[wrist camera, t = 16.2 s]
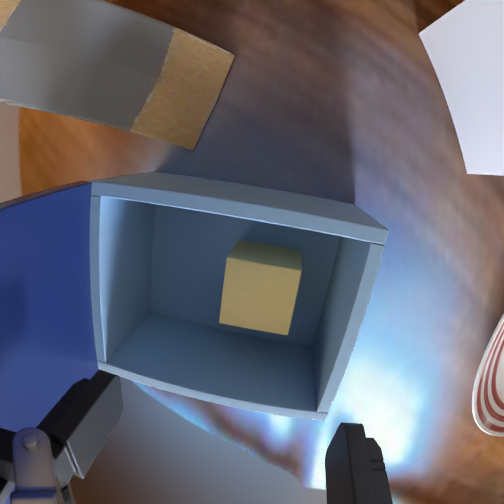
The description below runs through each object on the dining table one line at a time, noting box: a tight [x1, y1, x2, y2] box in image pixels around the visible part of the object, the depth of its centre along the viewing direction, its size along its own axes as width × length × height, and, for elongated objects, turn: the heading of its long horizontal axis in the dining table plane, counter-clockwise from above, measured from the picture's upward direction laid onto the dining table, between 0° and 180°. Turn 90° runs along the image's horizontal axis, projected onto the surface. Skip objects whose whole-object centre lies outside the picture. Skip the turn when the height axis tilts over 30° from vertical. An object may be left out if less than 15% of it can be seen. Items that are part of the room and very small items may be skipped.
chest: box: [90, 172, 388, 421], centre depth 21 cm, size 16×13×9 cm
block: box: [219, 240, 302, 335], centre depth 22 cm, size 5×5×5 cm
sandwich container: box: [0, 0, 235, 150], centre depth 15 cm, size 9×15×15 cm, turn 67°
